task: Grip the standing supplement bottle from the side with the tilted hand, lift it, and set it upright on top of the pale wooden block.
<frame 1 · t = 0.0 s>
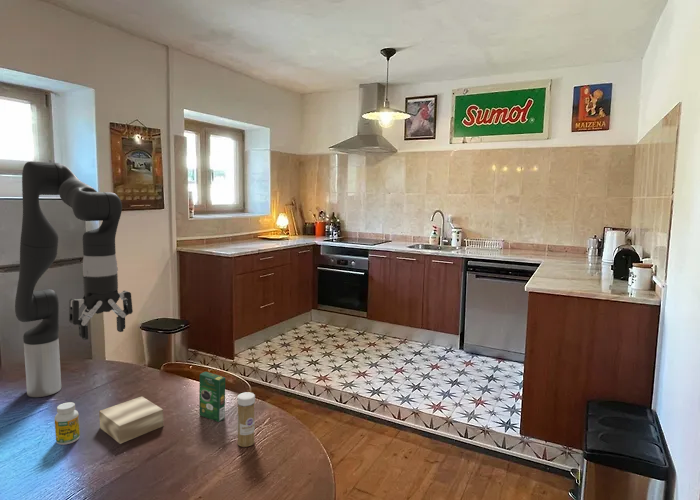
hand: (103, 335, 114), 29 cm above the table, tool pointing down, fingers open, 8 cm apart
pale wooden block: (131, 426, 126), on the table
supplement bottle: (68, 440, 119), on the table
coffee box: (212, 418, 133), on the table
sprinkles bottle: (246, 443, 120), on the table
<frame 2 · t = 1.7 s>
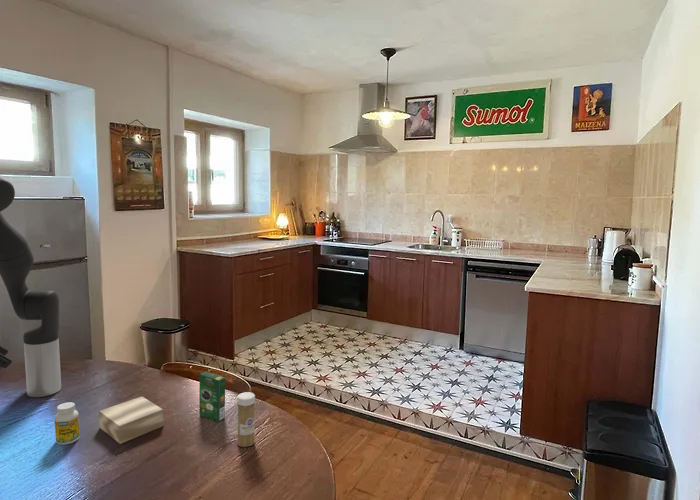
hand: (7, 359, 111), 24 cm above the table, tool tilted 45°, fingers open, 8 cm apart
nothing on the table moved.
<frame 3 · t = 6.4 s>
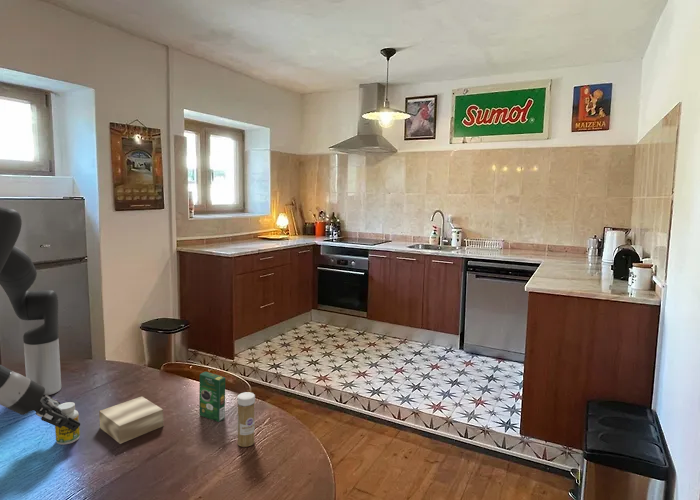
hand: (75, 422, 119), 4 cm above the table, tool tilted 45°, fingers closed on supplement bottle, 5 cm apart
supplement bottle: (68, 440, 119), on the table, touching gripper
everything else where it was.
when the fingers open (10 cm above the table, at t = 12.0 s): supplement bottle drops 1 cm, resting on pale wooden block.
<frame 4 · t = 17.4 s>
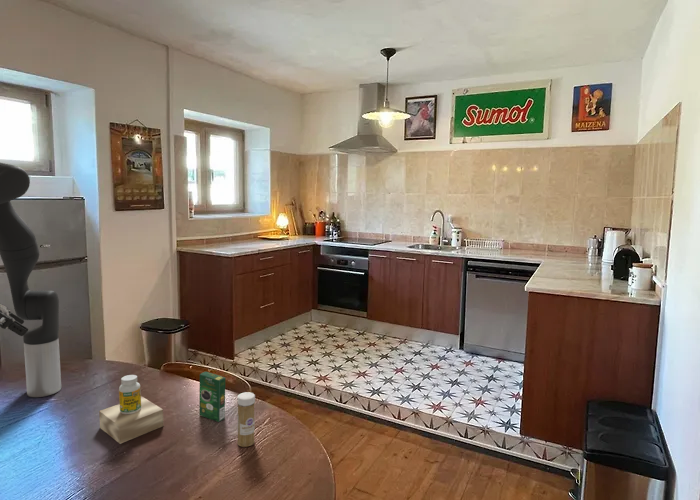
hand: (23, 328, 113), 31 cm above the table, tool tilted 45°, fingers open, 8 cm apart
supplement bottle: (130, 411, 125), point 5 cm above the table, touching pale wooden block
everything else where it was.
at the end: supplement bottle inside the target area on the pale wooden block (0.2 cm from its centre), point 4.8 cm above the pale wooden block's base; supplement bottle tilted 0°; the gripper is holding nothing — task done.
